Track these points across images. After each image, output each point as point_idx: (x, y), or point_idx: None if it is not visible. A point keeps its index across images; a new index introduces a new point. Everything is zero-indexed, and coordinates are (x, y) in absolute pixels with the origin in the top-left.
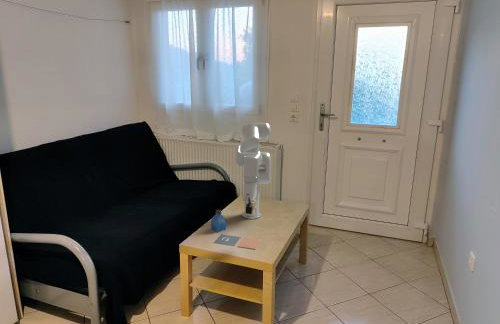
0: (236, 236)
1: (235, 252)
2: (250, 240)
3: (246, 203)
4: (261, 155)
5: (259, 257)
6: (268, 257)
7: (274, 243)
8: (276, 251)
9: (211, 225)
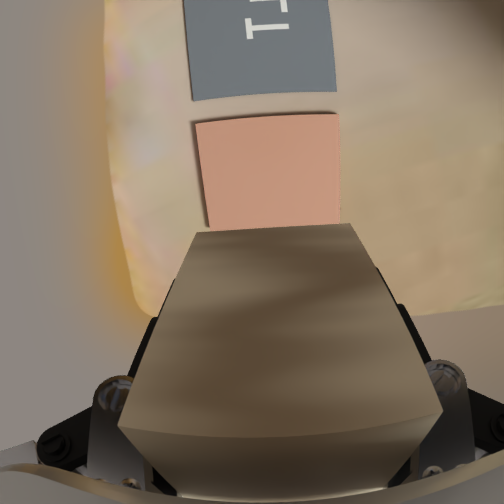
0: (332, 62)
1: (135, 143)
2: (303, 167)
3: (8, 463)
4: None
5: (152, 268)
6: None
7: None
8: None
9: None
